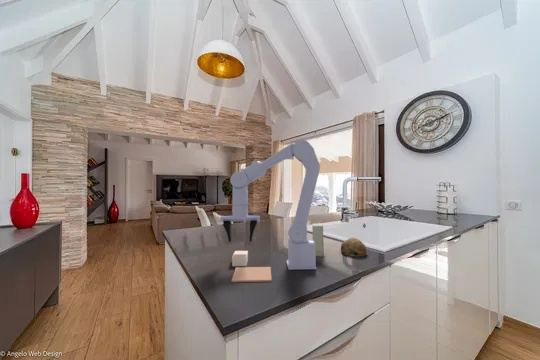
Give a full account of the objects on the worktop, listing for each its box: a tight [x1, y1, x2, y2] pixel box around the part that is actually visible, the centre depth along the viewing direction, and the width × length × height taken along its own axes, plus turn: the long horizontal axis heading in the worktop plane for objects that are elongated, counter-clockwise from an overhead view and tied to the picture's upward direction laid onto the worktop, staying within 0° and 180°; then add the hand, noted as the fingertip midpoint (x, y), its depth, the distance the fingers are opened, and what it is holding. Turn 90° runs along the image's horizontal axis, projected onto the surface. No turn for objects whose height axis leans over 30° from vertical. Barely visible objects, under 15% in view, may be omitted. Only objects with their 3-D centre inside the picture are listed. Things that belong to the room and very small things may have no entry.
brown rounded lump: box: [340, 237, 367, 257], centre depth 92 cm, size 10×10×8 cm
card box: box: [231, 250, 249, 267], centre depth 82 cm, size 5×7×4 cm
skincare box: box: [311, 223, 325, 257], centre depth 90 cm, size 6×4×12 cm
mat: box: [231, 266, 272, 283], centre depth 71 cm, size 12×10×1 cm
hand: (240, 240), depth 82 cm, fingers open, 7 cm apart
